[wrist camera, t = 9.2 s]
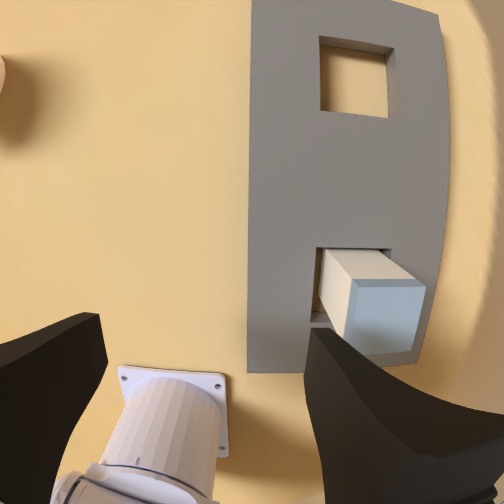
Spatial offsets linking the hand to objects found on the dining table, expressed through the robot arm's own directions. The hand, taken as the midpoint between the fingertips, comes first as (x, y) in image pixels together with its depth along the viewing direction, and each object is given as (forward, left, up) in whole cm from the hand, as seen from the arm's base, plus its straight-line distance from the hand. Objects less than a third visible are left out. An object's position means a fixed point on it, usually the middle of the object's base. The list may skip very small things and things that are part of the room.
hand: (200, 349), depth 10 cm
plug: (0, -7, -9) cm, 12 cm away
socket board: (+5, -7, -9) cm, 13 cm away
